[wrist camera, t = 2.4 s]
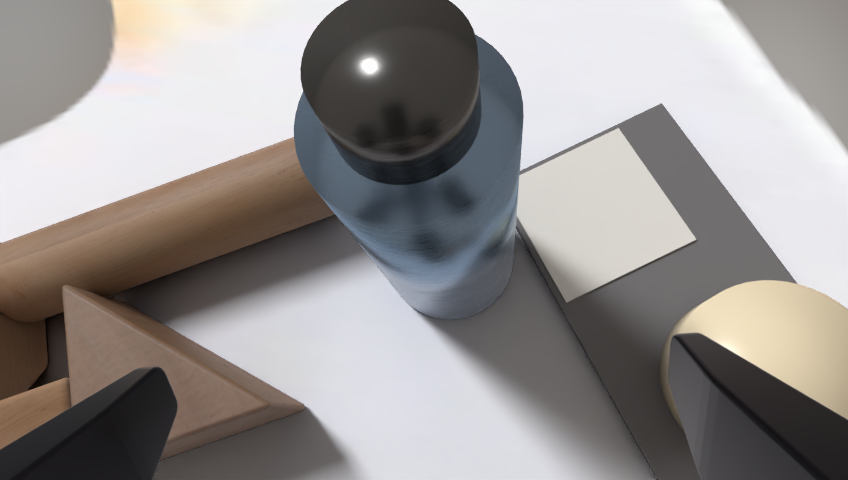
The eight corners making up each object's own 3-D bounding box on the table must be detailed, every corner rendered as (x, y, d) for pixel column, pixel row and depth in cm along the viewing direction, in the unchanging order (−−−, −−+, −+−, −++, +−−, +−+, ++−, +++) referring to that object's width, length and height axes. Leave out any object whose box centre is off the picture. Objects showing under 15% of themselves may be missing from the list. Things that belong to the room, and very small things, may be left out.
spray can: (536, 285, 21) (581, 103, 9) (419, 341, 21) (308, 233, 9) (478, 181, 23) (452, -87, 11) (371, 232, 23) (224, 21, 11)
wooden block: (-123, 546, 18) (379, 371, 18) (-111, 259, 22) (303, 108, 21) (-22, 526, 21) (399, 379, 21) (-27, 281, 25) (331, 151, 25)
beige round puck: (885, 424, 18) (942, 424, 15) (724, 503, 18) (758, 515, 15) (770, 270, 20) (806, 249, 18) (627, 339, 20) (644, 329, 17)
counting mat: (890, 418, 18) (900, 417, 18) (680, 521, 18) (685, 523, 18) (659, 108, 23) (662, 101, 23) (493, 188, 23) (493, 183, 22)
